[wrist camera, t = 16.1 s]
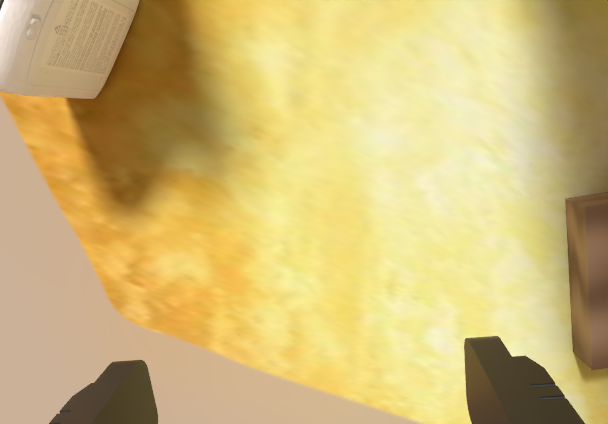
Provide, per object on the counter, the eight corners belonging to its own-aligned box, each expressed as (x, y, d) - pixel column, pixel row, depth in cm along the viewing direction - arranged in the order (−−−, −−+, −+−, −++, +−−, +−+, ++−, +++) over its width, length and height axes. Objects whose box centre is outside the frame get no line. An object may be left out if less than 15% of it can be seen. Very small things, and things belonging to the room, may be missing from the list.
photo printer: (100, -42, 36) (-8, -114, 24) (151, -14, 37) (69, -71, 25) (51, 81, 39) (-70, 71, 27) (100, 107, 39) (1, 109, 27)
